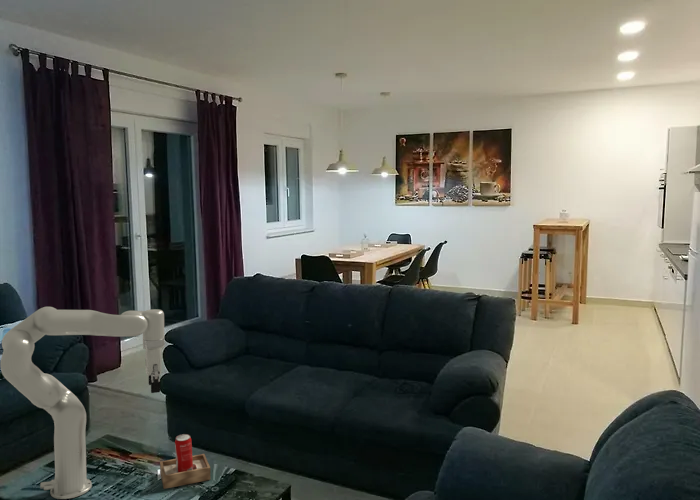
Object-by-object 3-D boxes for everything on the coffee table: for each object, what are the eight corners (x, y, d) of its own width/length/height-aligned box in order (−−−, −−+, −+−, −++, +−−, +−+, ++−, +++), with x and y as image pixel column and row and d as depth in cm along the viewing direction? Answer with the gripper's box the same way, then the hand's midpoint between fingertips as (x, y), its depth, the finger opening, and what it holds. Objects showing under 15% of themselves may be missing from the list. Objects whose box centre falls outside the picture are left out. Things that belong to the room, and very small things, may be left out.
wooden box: (163, 488, 187) (163, 476, 187) (160, 473, 198) (159, 461, 198) (210, 479, 194) (210, 467, 194) (204, 465, 205) (204, 453, 204)
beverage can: (195, 472, 199) (195, 433, 198) (188, 481, 193) (188, 440, 191) (180, 471, 200) (179, 432, 198) (172, 480, 193) (172, 439, 192)
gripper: (141, 338, 206) (141, 382, 207) (144, 349, 190) (145, 397, 191) (161, 337, 209) (162, 380, 210) (167, 347, 193) (167, 394, 194)
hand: (154, 388), depth 201 cm, fingers open, 9 cm apart
